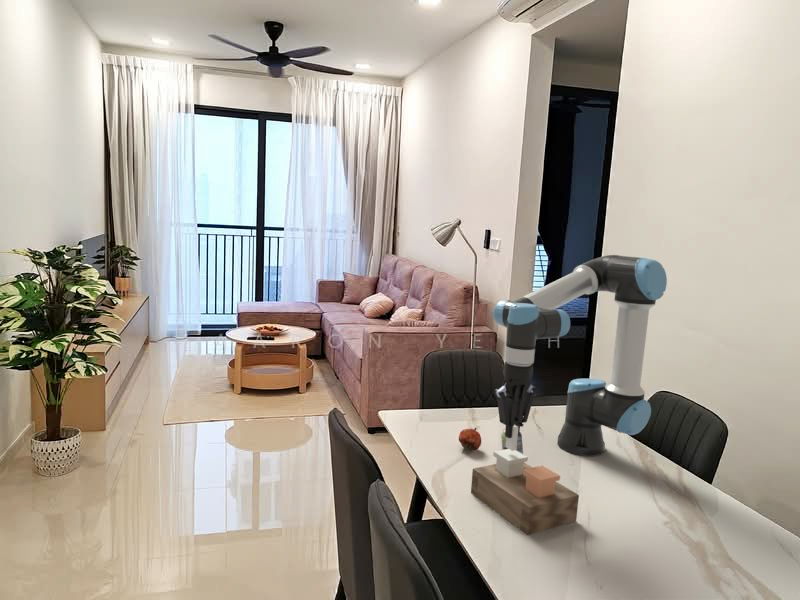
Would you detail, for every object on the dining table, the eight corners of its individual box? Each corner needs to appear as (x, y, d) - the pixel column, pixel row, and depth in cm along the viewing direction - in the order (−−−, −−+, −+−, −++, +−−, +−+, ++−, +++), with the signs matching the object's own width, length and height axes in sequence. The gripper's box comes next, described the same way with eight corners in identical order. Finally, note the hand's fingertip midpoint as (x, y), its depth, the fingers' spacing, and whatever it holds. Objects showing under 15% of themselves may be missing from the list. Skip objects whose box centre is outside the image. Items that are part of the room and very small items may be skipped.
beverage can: (523, 473, 177) (527, 435, 175) (498, 470, 179) (501, 432, 177) (523, 465, 183) (526, 427, 182) (499, 462, 185) (502, 424, 183)
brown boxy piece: (516, 482, 171) (518, 459, 170) (576, 521, 152) (578, 495, 150) (470, 492, 163) (472, 468, 162) (527, 534, 144) (530, 507, 143)
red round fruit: (475, 462, 189) (491, 438, 194) (465, 447, 185) (482, 423, 190) (457, 457, 194) (473, 433, 199) (448, 442, 191) (464, 418, 196)
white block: (509, 475, 166) (512, 448, 165) (525, 485, 161) (527, 457, 160) (491, 479, 163) (493, 451, 162) (506, 489, 158) (508, 460, 157)
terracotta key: (539, 494, 156) (542, 465, 155) (556, 505, 151) (560, 475, 149) (520, 499, 153) (523, 469, 152) (537, 510, 147) (540, 480, 146)
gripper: (528, 357, 163) (520, 440, 167) (490, 360, 157) (482, 446, 161) (547, 364, 157) (539, 450, 160) (508, 368, 151) (500, 457, 154)
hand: (510, 448), depth 161 cm, fingers closed
